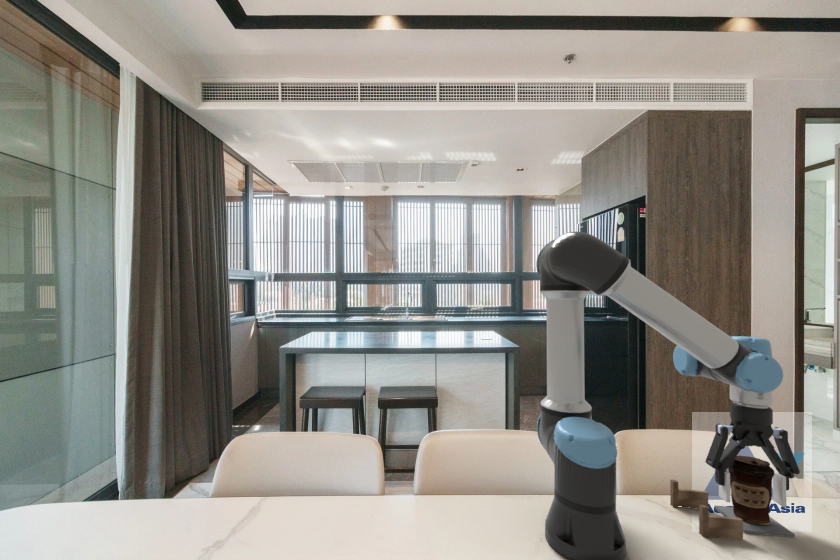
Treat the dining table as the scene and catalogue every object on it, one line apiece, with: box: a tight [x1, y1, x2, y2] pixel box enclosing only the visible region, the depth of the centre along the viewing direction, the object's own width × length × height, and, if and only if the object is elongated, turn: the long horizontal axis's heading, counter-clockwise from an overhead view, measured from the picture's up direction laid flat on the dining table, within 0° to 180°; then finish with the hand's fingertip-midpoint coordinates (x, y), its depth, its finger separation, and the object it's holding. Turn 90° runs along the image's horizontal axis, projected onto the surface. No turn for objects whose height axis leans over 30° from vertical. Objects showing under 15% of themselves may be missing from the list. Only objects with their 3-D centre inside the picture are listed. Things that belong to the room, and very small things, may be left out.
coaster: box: [713, 504, 796, 538], centre depth 88 cm, size 10×10×1 cm
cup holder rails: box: [669, 479, 744, 540], centre depth 88 cm, size 8×13×6 cm, turn 173°
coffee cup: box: [727, 455, 776, 525], centre depth 88 cm, size 9×8×13 cm
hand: (751, 501), depth 88 cm, fingers open, 11 cm apart
